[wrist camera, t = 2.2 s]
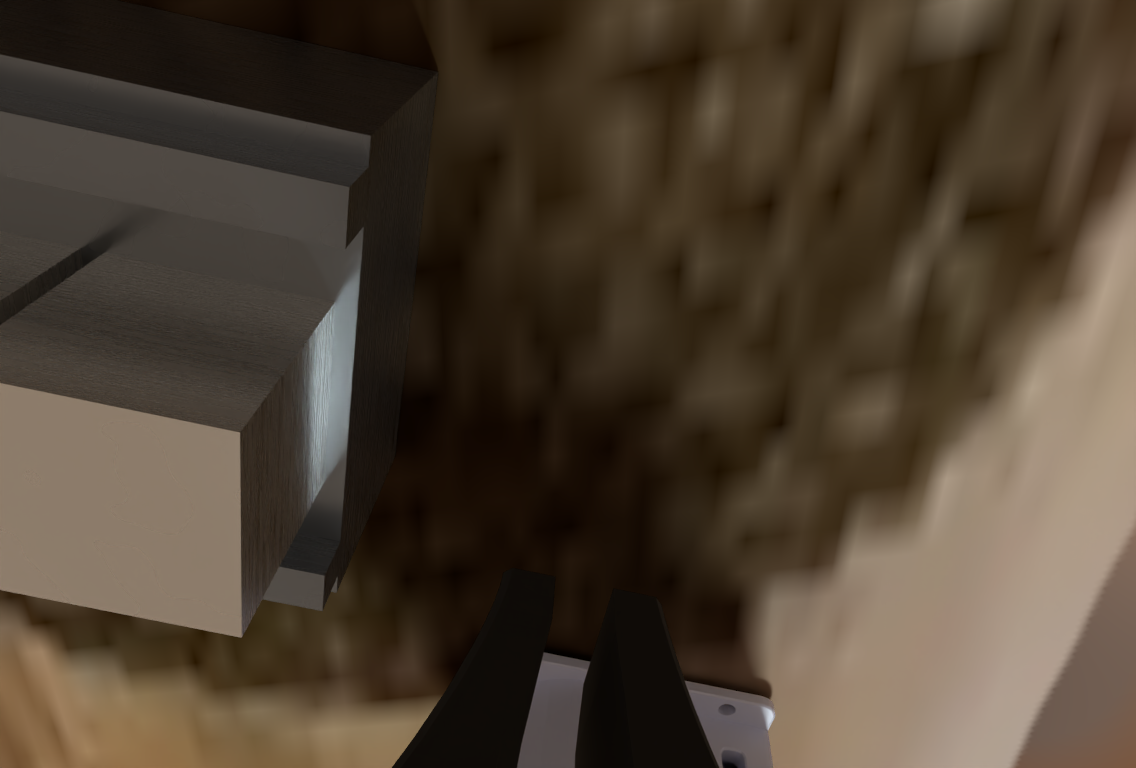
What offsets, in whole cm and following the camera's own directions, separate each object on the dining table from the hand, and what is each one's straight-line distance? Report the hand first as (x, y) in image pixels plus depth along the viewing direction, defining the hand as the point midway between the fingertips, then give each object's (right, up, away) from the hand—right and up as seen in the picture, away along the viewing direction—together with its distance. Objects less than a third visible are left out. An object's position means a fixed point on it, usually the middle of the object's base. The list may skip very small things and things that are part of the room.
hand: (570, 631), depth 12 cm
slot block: (-8, +7, +8) cm, 13 cm away
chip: (-6, +4, +4) cm, 8 cm away
